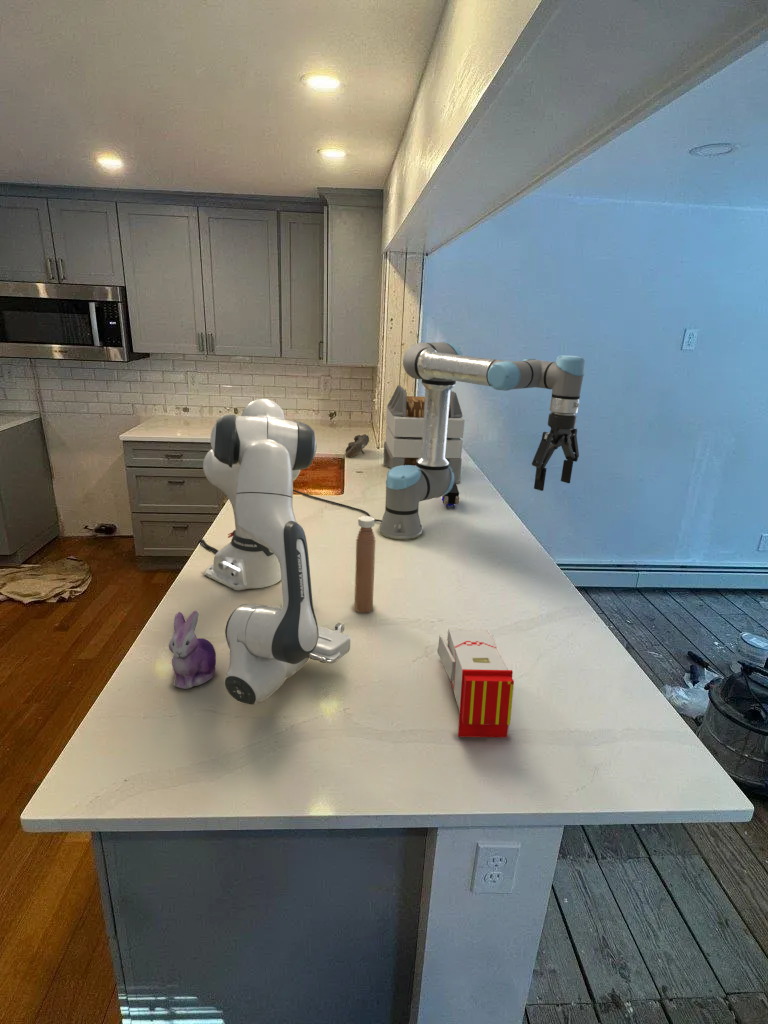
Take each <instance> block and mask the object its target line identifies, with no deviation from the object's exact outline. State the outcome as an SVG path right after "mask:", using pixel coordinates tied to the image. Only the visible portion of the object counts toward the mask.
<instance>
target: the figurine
mask: <svg viewBox="0 0 768 1024" xmlns="http://www.w3.org/2000/svg"><path fill="white" fill-rule="evenodd" d="M199 616H200V615H199V611H198V610H194V611H192V612H191V614H189V616H188V618H187V619H185V615H184V614H183V612H181V611H178V612H177V613H175V615H174V618H173V629H174V631H173V634H172V636H171V638H170V639H169V642H168V649H169V650H170V652H171V653H172V654H173V655H172V658H171V666H172V669H173V672H174V681H173V685H174V686H175V687H176V688H179V689H183V690H185V689H192V688H193V687H198V686H201V685H203V684H205V683H207V682H209V681H210V680H211V679H212V678H214V676H215V674H216V666H217V665H216V664H217V652H216V649H215V647H214V645H213V643H212V642H211V641H210V640H208V639H206V638H201V637H197V634H196V632H195V631H196V629H197V624H198V621H199Z"/></svg>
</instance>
